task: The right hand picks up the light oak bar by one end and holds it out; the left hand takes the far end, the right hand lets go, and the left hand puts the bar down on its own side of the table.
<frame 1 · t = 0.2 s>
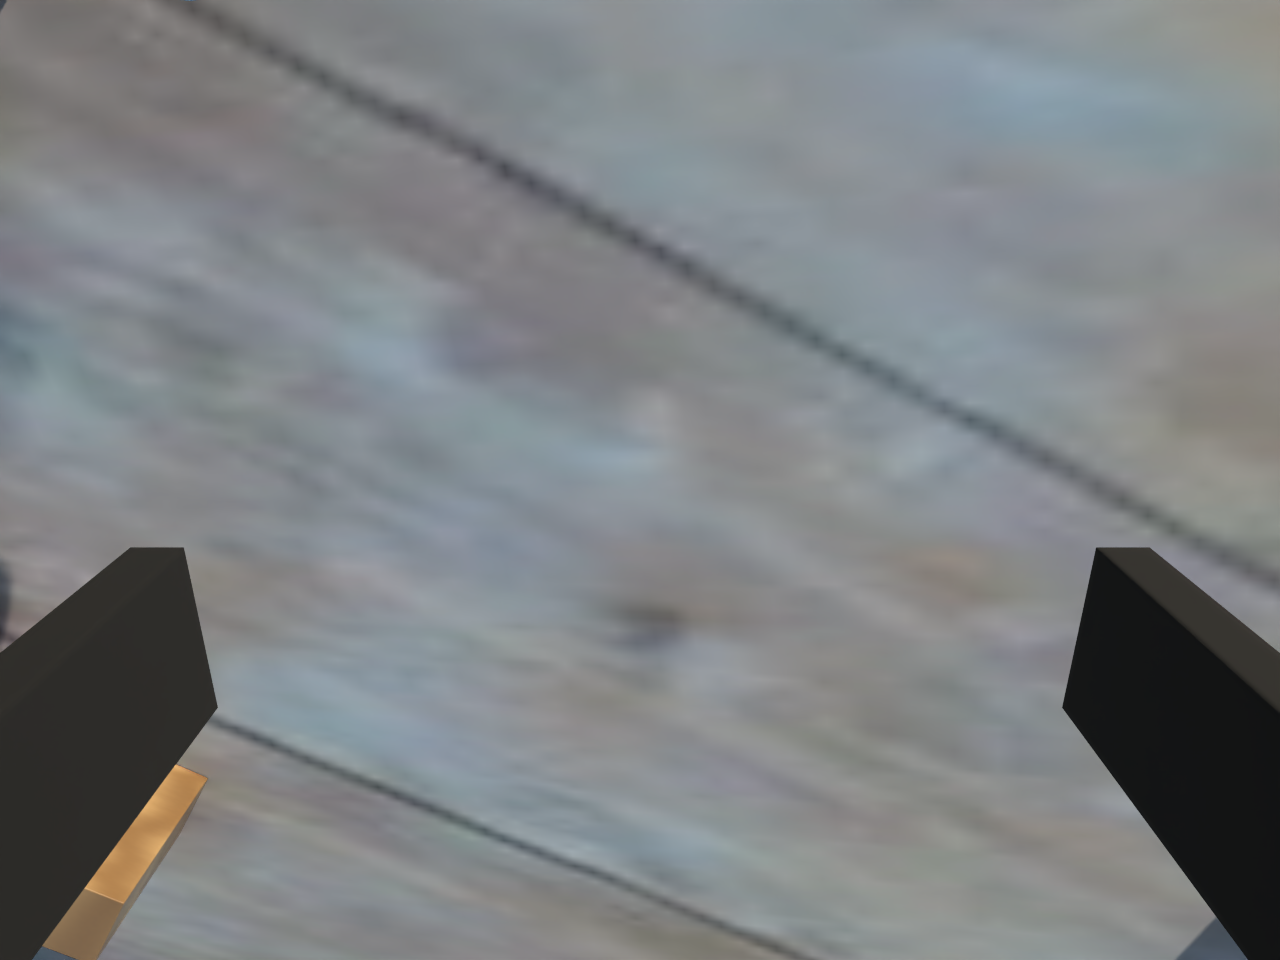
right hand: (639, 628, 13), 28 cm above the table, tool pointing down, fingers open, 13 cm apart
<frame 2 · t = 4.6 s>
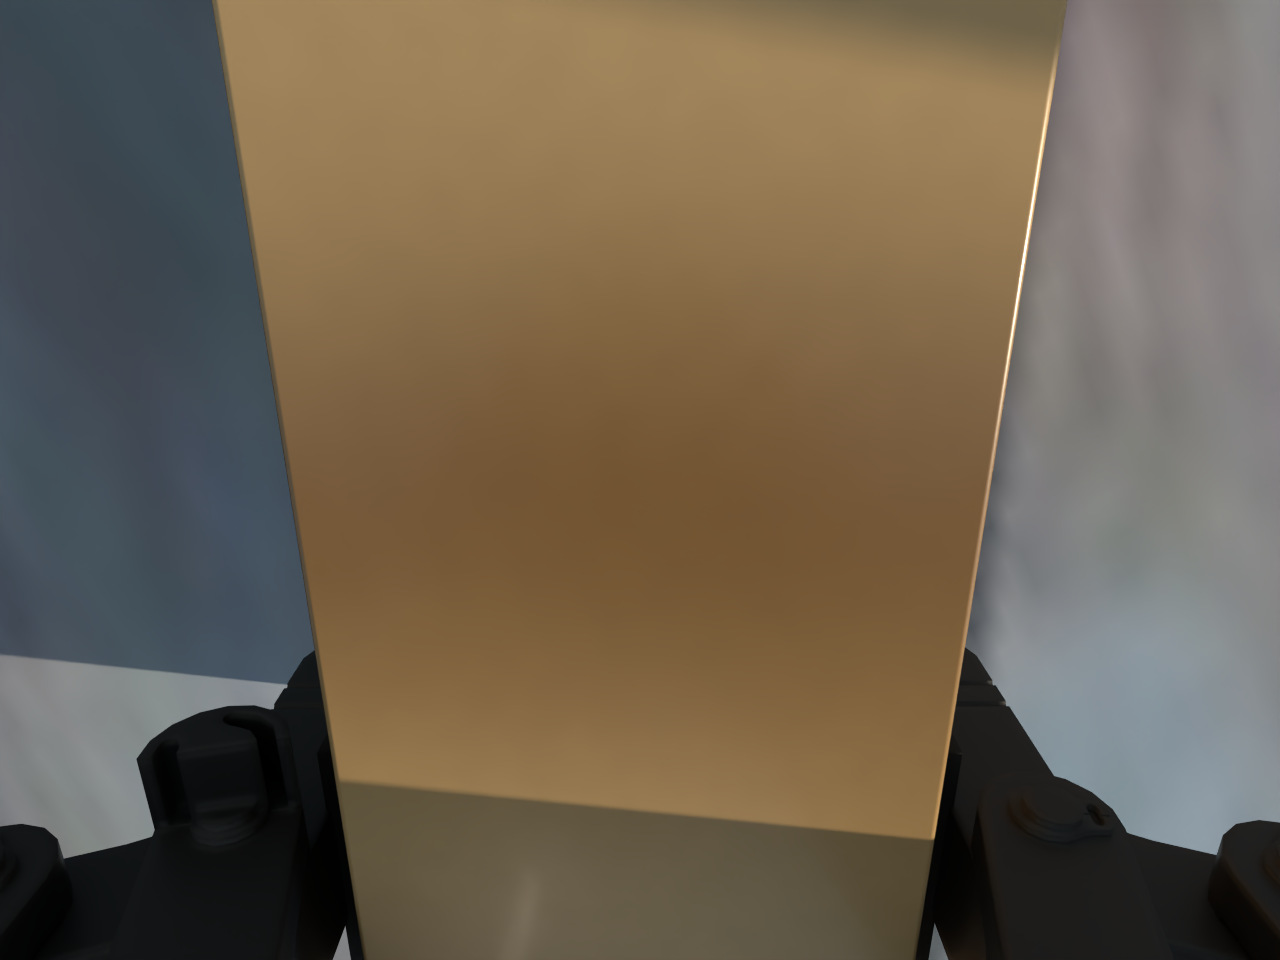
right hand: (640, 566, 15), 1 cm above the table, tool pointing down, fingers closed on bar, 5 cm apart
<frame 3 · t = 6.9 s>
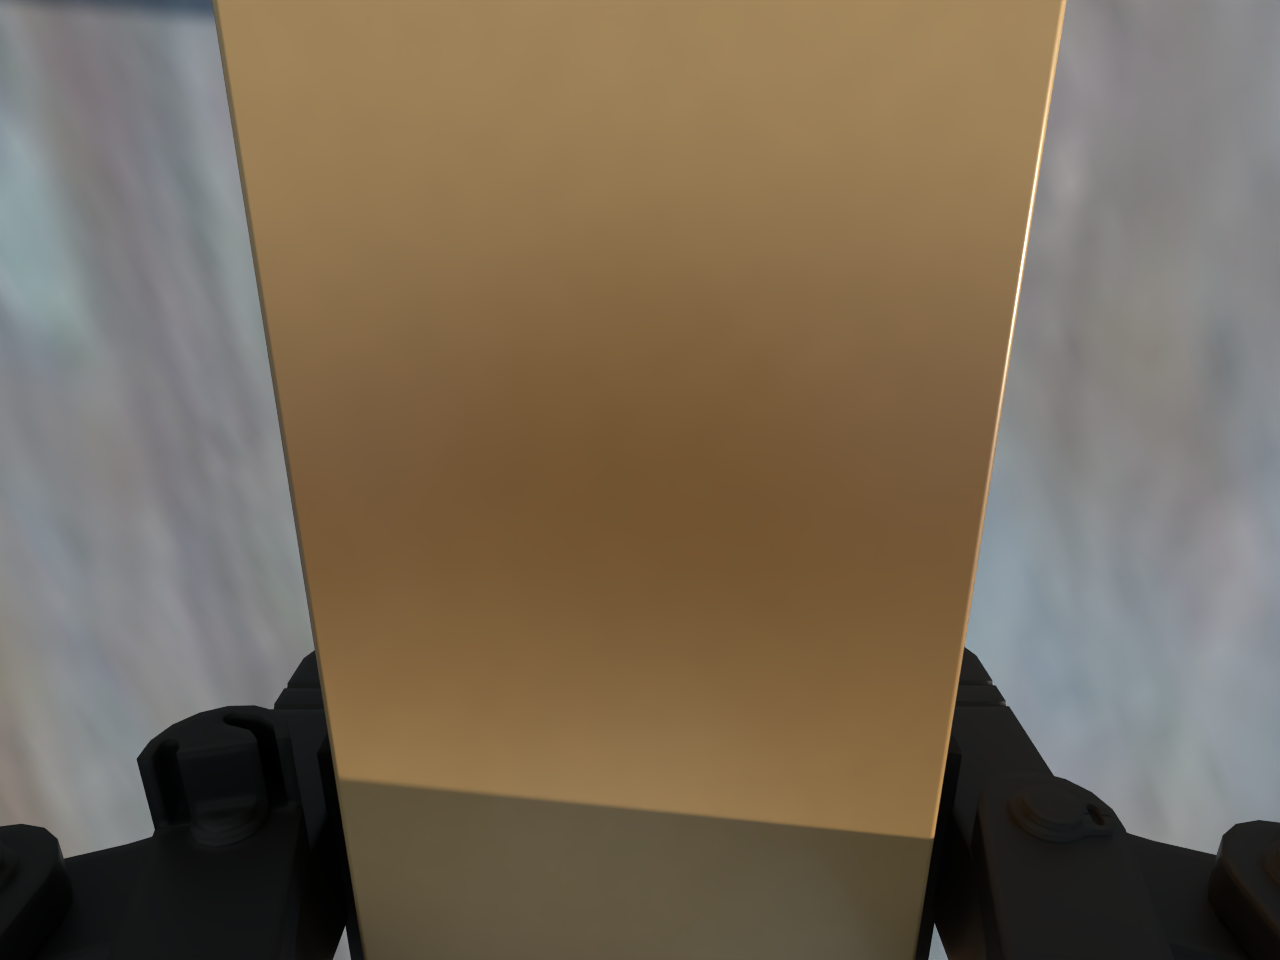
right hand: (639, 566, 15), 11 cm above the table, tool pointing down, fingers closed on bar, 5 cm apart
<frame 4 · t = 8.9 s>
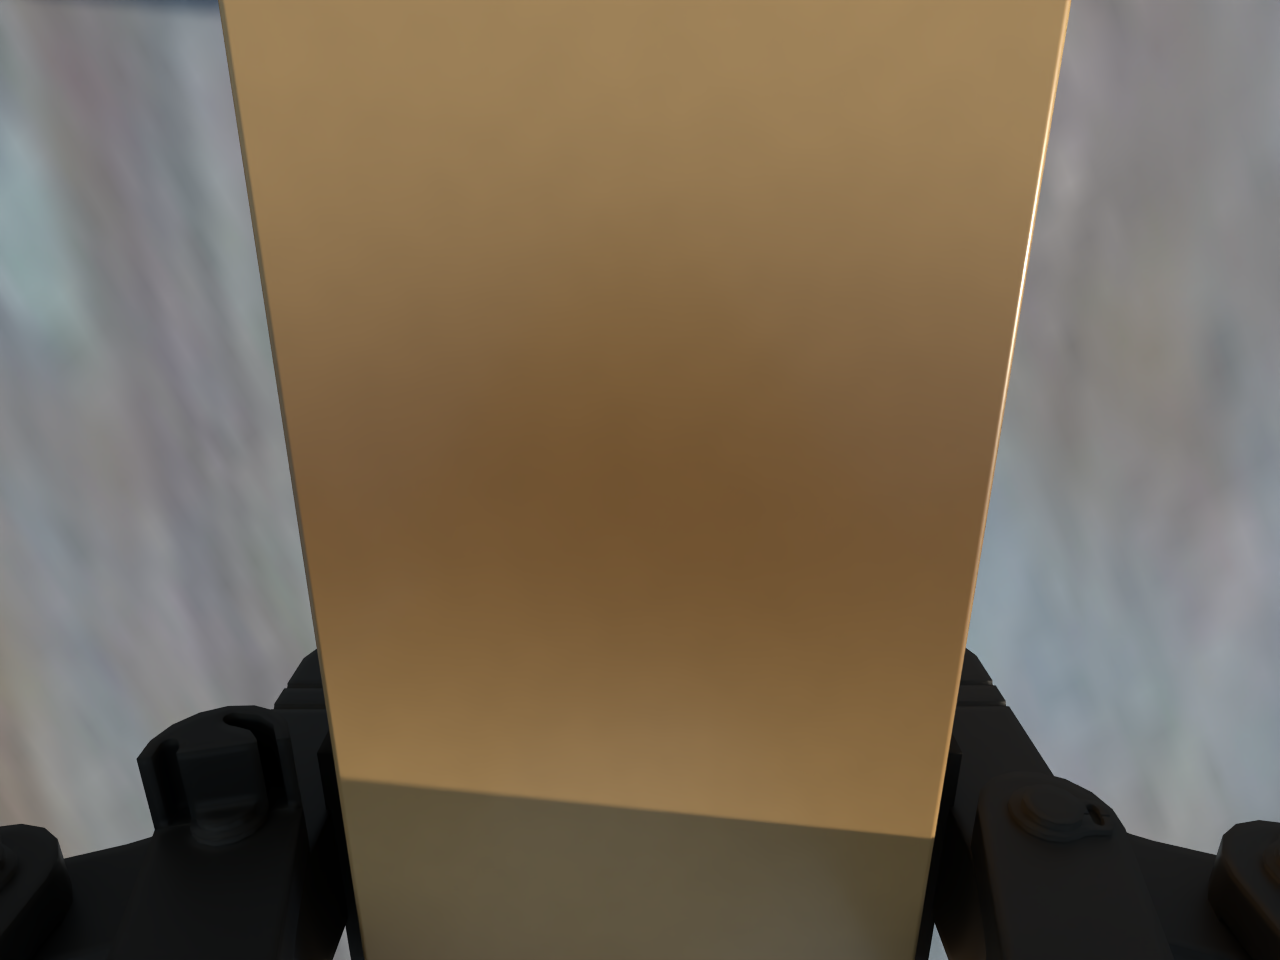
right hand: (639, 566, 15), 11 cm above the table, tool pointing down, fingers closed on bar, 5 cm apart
when the right hand's fingers open (11 cm above the table, at t = 9.5 s): bar stays where it is, held by the left hand.
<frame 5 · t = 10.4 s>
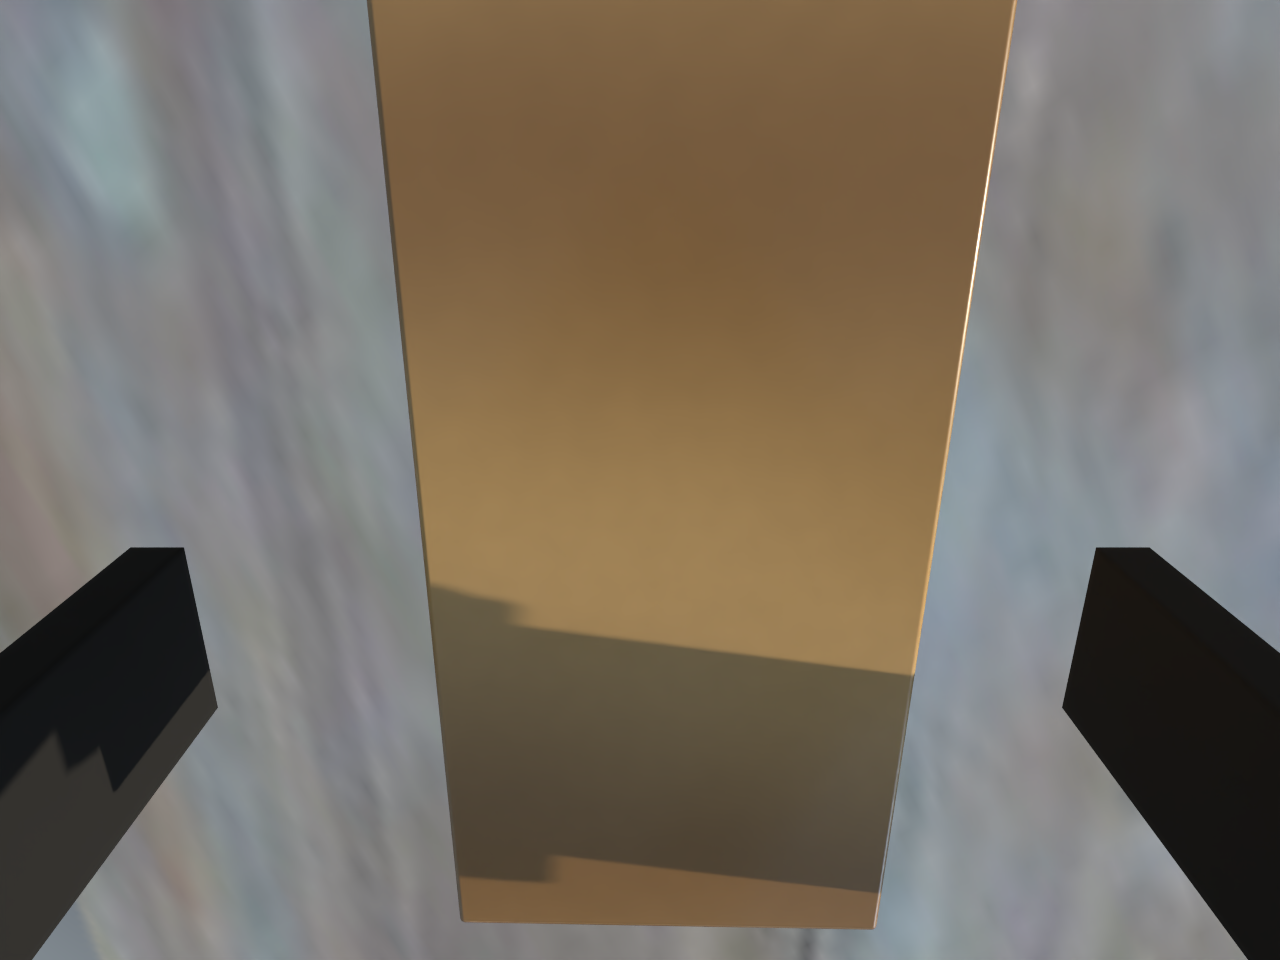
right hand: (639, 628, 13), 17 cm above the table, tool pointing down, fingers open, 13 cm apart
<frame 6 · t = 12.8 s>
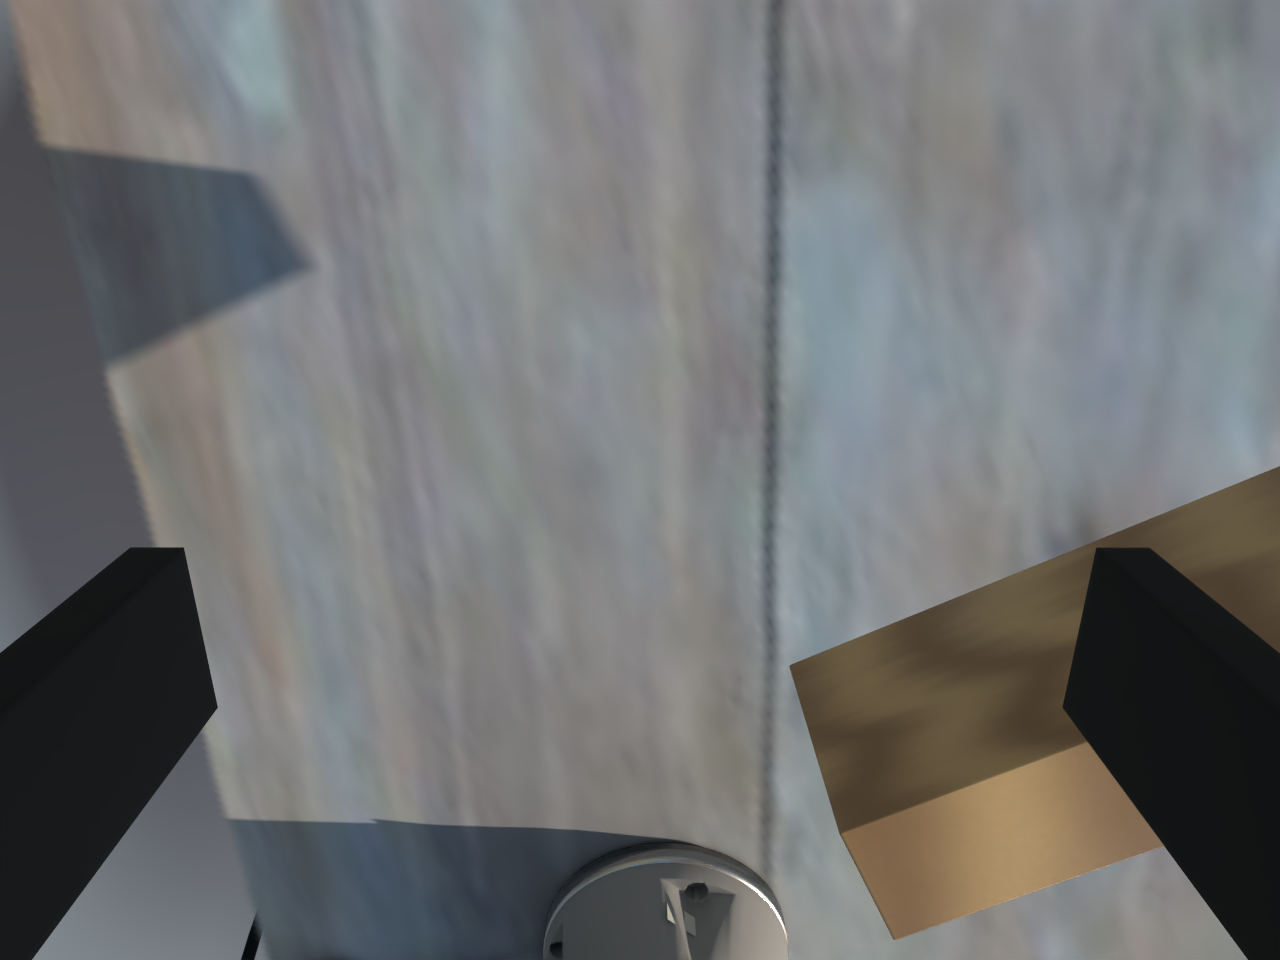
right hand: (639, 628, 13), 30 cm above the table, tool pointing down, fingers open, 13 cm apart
bar: (1137, 582, 32), point 13 cm above the table, touching left hand
when the left hand's fingers open (2 cm above the table, at t = 16.6 s): bar drops 1 cm, on the table.
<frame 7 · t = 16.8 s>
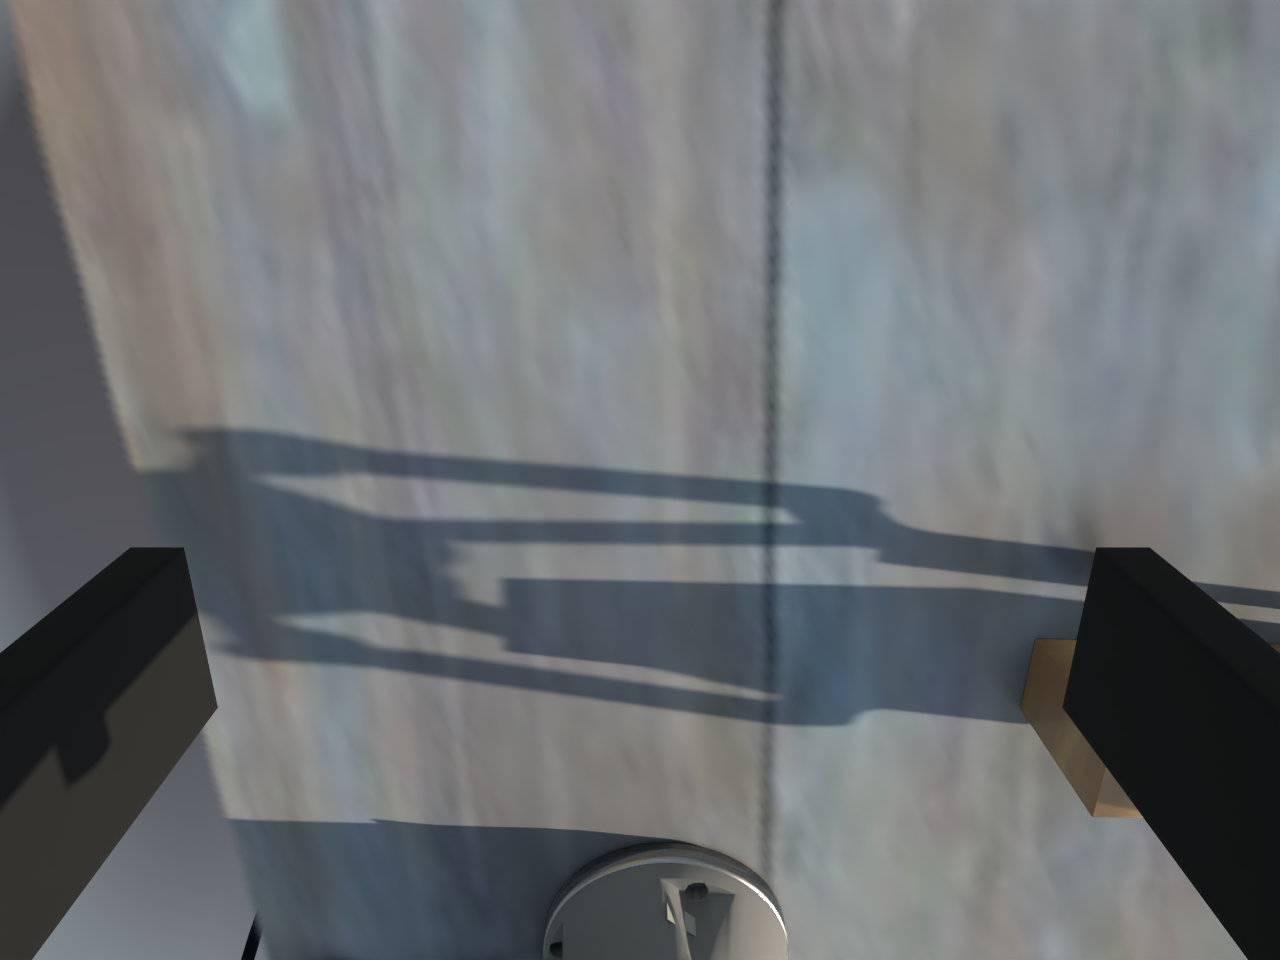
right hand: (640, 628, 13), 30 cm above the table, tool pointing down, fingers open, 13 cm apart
bar: (1252, 678, 49), on the table
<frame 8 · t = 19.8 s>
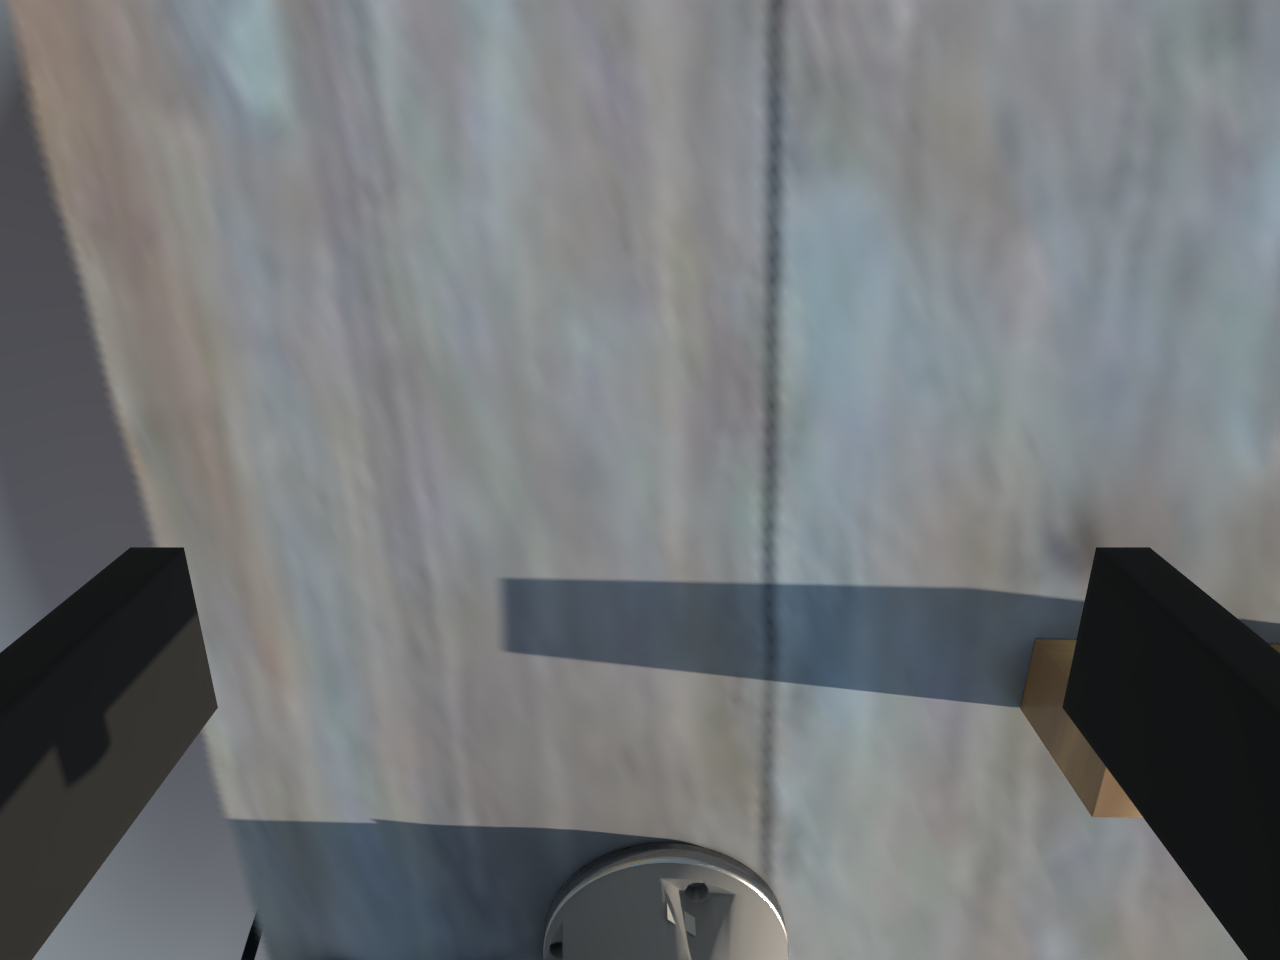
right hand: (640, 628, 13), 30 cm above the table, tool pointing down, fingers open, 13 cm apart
bar: (1252, 678, 49), on the table
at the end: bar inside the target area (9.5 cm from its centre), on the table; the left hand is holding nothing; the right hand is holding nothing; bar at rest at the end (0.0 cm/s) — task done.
